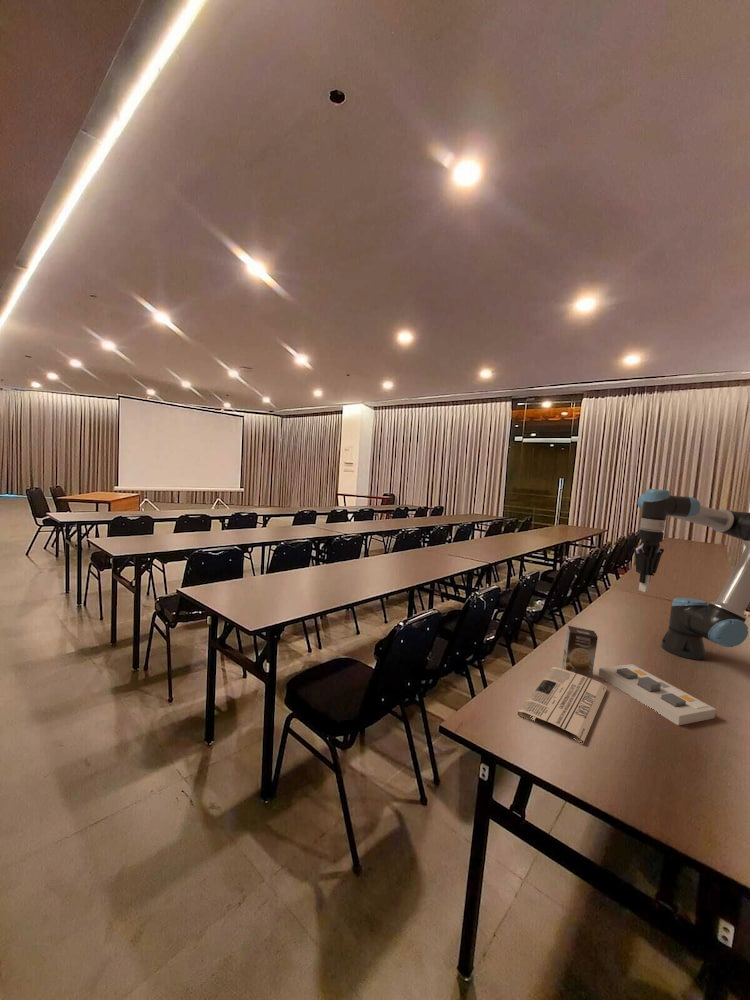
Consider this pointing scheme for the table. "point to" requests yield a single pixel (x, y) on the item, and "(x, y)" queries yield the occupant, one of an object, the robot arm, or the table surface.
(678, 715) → the button board
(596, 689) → the newspaper
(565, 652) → the coffee box
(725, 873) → the table surface
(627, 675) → the button
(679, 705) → the button
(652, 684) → the middle button
